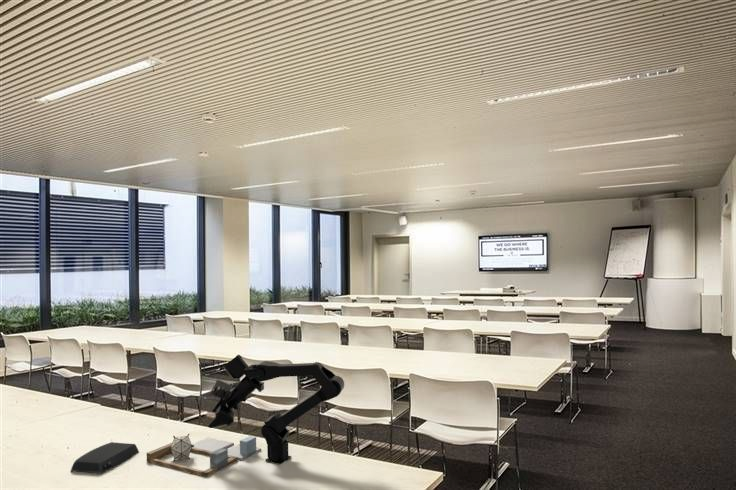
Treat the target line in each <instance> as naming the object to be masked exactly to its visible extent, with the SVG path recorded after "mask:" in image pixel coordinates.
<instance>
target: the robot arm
mask: <svg viewBox="0 0 736 490" xmlns="http://www.w3.org/2000/svg"><path fill="white" fill-rule="evenodd" d="M222 368H223V369H224V370H225V372H226V373H227V374H228V375H229V376H230V377H231V379H232V380H237V381H238V380H239V381H238V382H237V383H236V382H235V383H231V382H224V381H222V380H220V379H217V380H215V382H214V383H213V386H212V389H211V390H210V391H211V392H210V394H211V395H213V396H214V397H216V398H219V400H218V401H217V402H216V404H215V405H214V407H213V408H212V412H213V413H215V414H214V415H215V416H214V417H213V418H212V420H211V421H210V422H209V424H208V425H207V426H208V428H209V429H212V428H215V427H218V426H224V425H226V426H231V425H232V424H233V423H234V421H235V417H236V415H235V412H234V411H233V409H234V410H235V411H236V410H238V409H239V405H240V404H242V403H243V402H244V403H245V402H246V401H247V400H248V399H247V398H248V397H249V396H250V395H251V394H252V393H254V392H255V391H256V390H257V391H258V392H259V393H261V392H262V391H264V389H265V381H271V380H274V379H277V378H281V377H283V378H284V377H285V378H286V377H308V376H311V377H313V379H315V381H316V382H317V383H318V385H319V386H320V388H319V389H318V390H317V391H315V392H313V394H311V395H309V396H308V397H307V398H304V400H303V399H302V401H300V402H299V403H298V404H296V405H294V406H293V407H292V408H290V409H289V410H287V411H285V412H284V413H281V412H280V410H277V412H276V413H275V414H273V415H270V416H269V417H268V418H267V419H266V420H265V421H264V422H263V423H264V424H263V425H262V426H261V432H260V433H261V436H262V437H263V439H264V440H265V442H266V446H267V451H266V452H267V458H265V462H267V463H272V464H276V465H281V464H282V465H283V463H284V462H287V461H288V460H290V459H292V455H289V441H288V440H287V439H288V438H289V435H290V433H291V431H290V430H289V429H288V428H287V427H288V426H289V425H290V424H291V423H293V422H294V421H296V420H297V419H299V418H300V417H302V416H303V415H304V414H307V413H308V412H309V411H311V410H312V409H313V408H315V407H317V406H318V405H319V404H321V403H324V402H326V401H330V400H332V399H334V398H337V397H338V396H339V395H340V394H341V393H342V392H343V390H344V388H345V381H344V379H343V378H342V377H341V376H340V375H336V374H335V373H334V372H333V371H332V370H329V369H328V368H327V367H325V366H324V365H323V364H322V363H321V362H319V361H315V362H307V363H305V362H302V363H278V362H274V361H268V360H264V361H261V362H259V363H257V364H250V365H248V364H247V362H245V360H244V359H243V356H241V354H237V355H236V356H235V357H234V358H232V359H231V360H229V361H228V362H227V363H225V364H224V365H223V367H222Z"/></svg>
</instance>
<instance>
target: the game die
mask: <svg viewBox="0 0 736 490" xmlns="http://www.w3.org/2000/svg"><path fill="white" fill-rule="evenodd" d="M172 436H173V440H172V442H173V443H172V442H171V443H172V445H171V448H169V450H171V452H172V454H171V455H172V457H173V462H172V463H174V462H175V461H176V460H179V459H186V458H187V459H188V460H190V453H192V452H191V449H192V447H194V445H192V444H193V443H192V442H191V440H190V437H189V436H190V433H188V434H187V435H184V436H183V435H182V436H175V435H172Z"/></svg>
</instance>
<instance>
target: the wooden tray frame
mask: <svg viewBox="0 0 736 490" xmlns="http://www.w3.org/2000/svg"><path fill="white" fill-rule="evenodd" d="M172 443H173V441H172V442H170V443H168V444H165V445H163V446H159V447H158V448H156V449H153V450H150V451H148V452H146V462H147V463H151V464H154V465H158V466H162V467H166V468H169V469H173V470H177V471H181V472H185V473H189V474H193V475H197V476H201V477H204V478H207V477H209V476H211V475H213V474H215V473H217V472H219V471H221V470H223V469H225V468H227V467H228V466H229V467H230V466H231V465H233V464H234V463H237V462H238V461H239V460H238V457H233V456H229V455H228V449H229V448H226V449H224V448H220V449H217V450H215V451H213V452H211V451H207V450H202V449H198V448H193V447H192V449H191V452H190V453H195V454H198V455H199V454H200V455H204V456H207V457H209V468H207V469H205V470H201V469H198V468H194V467H189V466H186V465H182V464H177V463H174V462H169V461H166V460H162V458H166V457H167V456H169V455H173V454H172V452H171V450H169V448H171V445H172Z"/></svg>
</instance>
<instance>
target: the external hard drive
mask: <svg viewBox="0 0 736 490" xmlns="http://www.w3.org/2000/svg"><path fill="white" fill-rule="evenodd" d="M139 453H140V451H139V449H138V447H137V444H136V443H128V442H127V443H125V442H113V441H111V442H108V443H105V444H103V445H100V446H97V447H96V448H93V449H91V450H89V451H88V452H86V453H85V454H83V455H81V456H80V457H78V458H77V459H76V460H75V461H74V462H73V464H72V466H71V468H70V472H72V473H80V474H81V473H82V474H91V475H102V474H104V473H106V472H108V471H111V470H112V469H115V468H117V466H120V465H122V464H123V463H125V462H127V461H128V460H129V459H131V458H134V457H135V456H136V455H137V454H139Z"/></svg>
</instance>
